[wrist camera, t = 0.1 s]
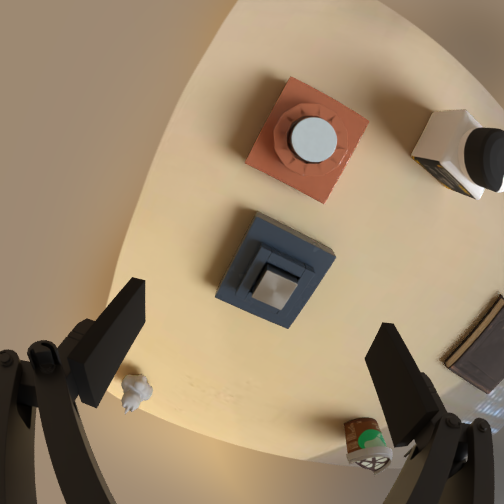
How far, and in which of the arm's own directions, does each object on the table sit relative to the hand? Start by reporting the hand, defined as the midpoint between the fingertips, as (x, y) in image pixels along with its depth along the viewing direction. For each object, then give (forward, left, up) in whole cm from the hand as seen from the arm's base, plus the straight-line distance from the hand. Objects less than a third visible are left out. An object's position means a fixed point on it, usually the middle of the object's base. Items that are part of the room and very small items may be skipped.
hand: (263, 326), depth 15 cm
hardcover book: (-26, +45, -20) cm, 56 cm away
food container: (+4, +45, -20) cm, 50 cm away
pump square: (+2, +5, -16) cm, 17 cm away
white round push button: (-9, -6, -15) cm, 18 cm away
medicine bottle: (-24, +3, -20) cm, 31 cm away
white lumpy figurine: (+32, +11, -20) cm, 40 cm away
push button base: (+2, +5, -20) cm, 20 cm away
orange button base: (-9, -6, -20) cm, 22 cm away
